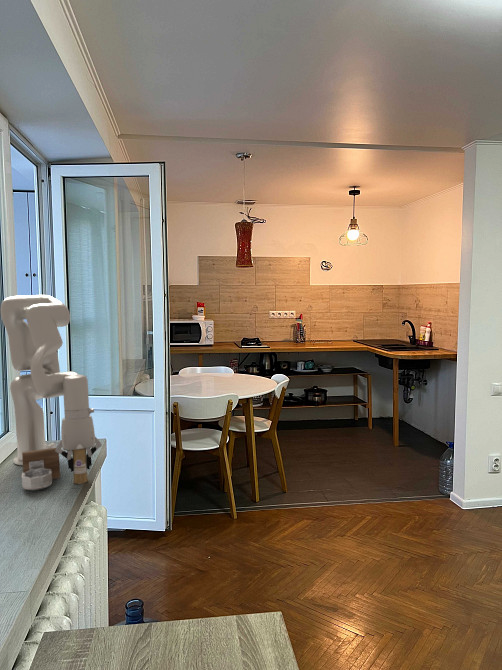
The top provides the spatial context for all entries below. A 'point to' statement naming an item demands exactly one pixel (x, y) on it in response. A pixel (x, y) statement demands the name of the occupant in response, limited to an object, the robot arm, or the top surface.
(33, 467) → the cup bracket
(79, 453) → the sprinkles bottle
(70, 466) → the robot arm
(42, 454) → the mount board
